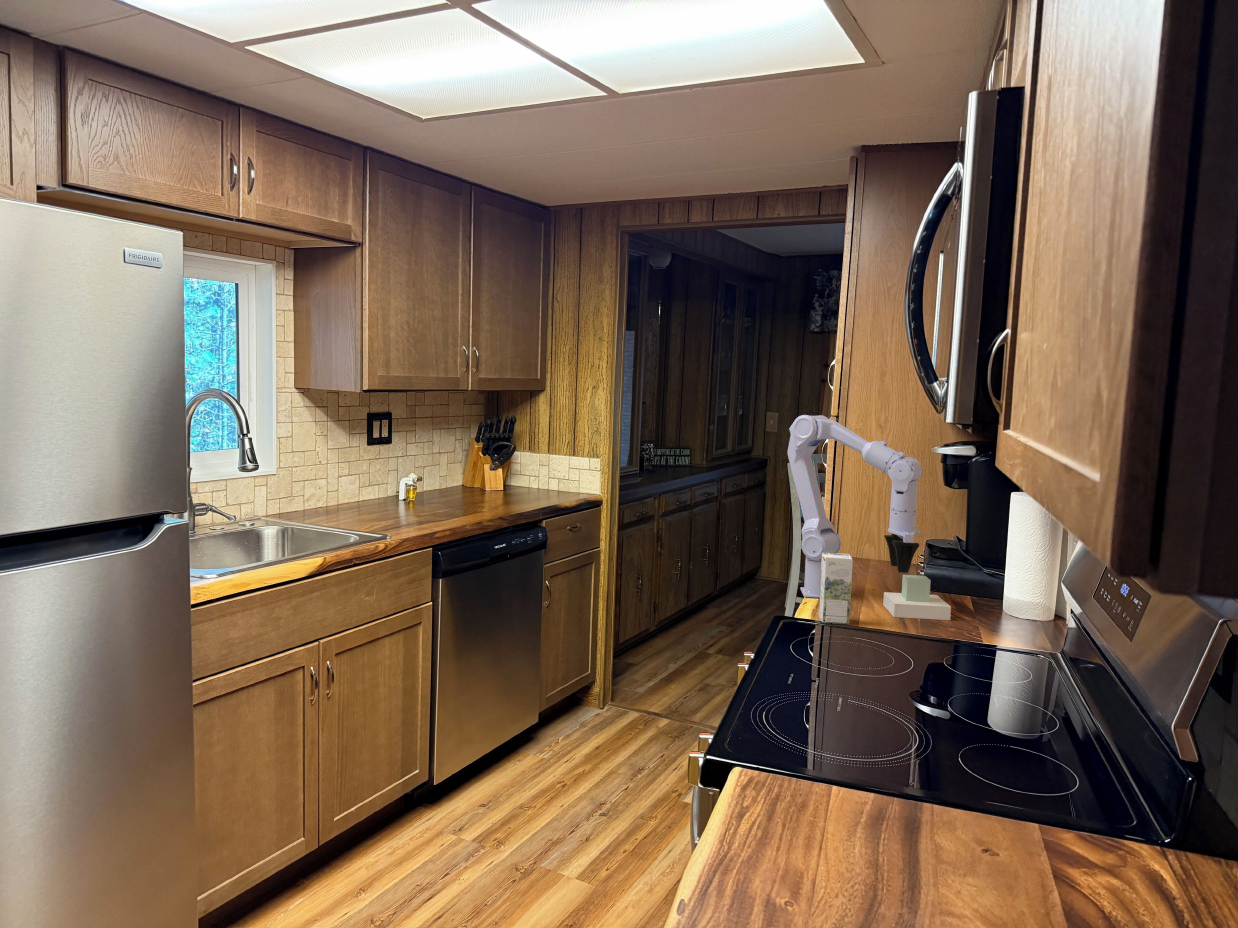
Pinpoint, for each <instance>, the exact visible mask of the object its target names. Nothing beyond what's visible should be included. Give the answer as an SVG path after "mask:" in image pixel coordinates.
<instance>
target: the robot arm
mask: <svg viewBox="0 0 1238 928" xmlns="http://www.w3.org/2000/svg"><path fill="white" fill-rule="evenodd" d="M788 429H789V433H790V437H789V441H788V448H787V457H788V462H789V466H790V469H791V474H792V477H793V482H794V485H795V489H796V493H797V498H798V502H799V505H800V508H801V512H802V516H803V521H804V523H803V526H802V528H801V536H802V541H801V550H802V553H803V554H804V555H805V560H804V561H805V562H804V564H805V565H804V581H803V582H804V583H803V584H804V585H803V586H801V587H800V588H799V589H800V591H801V594H802V595H803V597H804V598H819V599H820V583H821V563H822V553H838V552H839V551H840V549H841V546H842V541H841V537H840V536H839V534H838V533H837V531H836V530H835V527H834V524H833V523H832V522H831V520H829V519H828V517H827V515H826V511H825V510H826V509H825V507H824V503H823V497H822V495H821V490H820V486H819V483H818V479H817V475H816V470H815V467H814V462H813V460H812V455H813V453H814V452H815V451H816V449H817V447H818V446H820V445H821V444H822V443H823V442H824V441H826V440H834V441H836V442H838V443H839V444H841V445H844V446H846V447H847V448H850V449H852V450H853V451H855V452H857V453H859V454H861V455H862V460H863V461H864V462H865V463H866V464H868V465H869V466H871V467H873V468H875V469H876V470H878V471H880V472H882V473H883V474H884V475H887V476H888V477H889V478H890V480H891V491H890V504H889V505H890V509H889V521H888V522H889V523H888V524H889V525H888V528H887V532H888V533H889V535H888V534H885V535H883V537H884V539H885V541H886V544H887V548H888V554H889V555H888V556H889V561H890V566H891V567H897V572H898V573H901V574H902V573H904V574H905V573H906V574H907V573H909V572H910V568H911V565H912V563H913V562H912V561H913V558H914V556H915V553H916V552H917V550H918V549H919V547H920V543H918V542H914V537H915V535H916V534H917V535H921V532H922V531H921V530H920V529H916V525H917V524H916V523H917V522H916V521H917V508H918V507H917V505H918V493H919V492H918V491H919V490H918V489H919V488H918V487H919V486H918V485H919V480H920V479H921V478H922V476H923V466H922V464H921V462H919V460H917V459H916V457H913V456H908V457H905V455H906V454H905V452H902V451H897V450H895V449H893V448H891V447H890V446H888V442H886V441H884V440H880V441H879V440H873V441H871V442H870V441H868V440H867V439H865V438H863V437H862V436H860V435H859V434H857V433H855V432H854V431H852V430H850V429H849V428H847V427H846V426H844V425H843V424H840V423H839V422H837V421H836V420H834V419H830V418H829V417H827V416H825V415H822V414H821V415H820V414H819V415H807V414H802V415H799V416H798V417H796V418H795V419H794V421H793V423H792V424H791V426H789V428H788ZM890 534H891V535H890ZM808 591H809V593H808Z"/></svg>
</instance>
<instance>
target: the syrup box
mask: <svg viewBox="0 0 1238 928" xmlns="http://www.w3.org/2000/svg"><path fill="white" fill-rule="evenodd" d="M853 565H854V559H853V557H852V556H851V555H850V554H849V553H838V552H837V553H822V563H821V583H820V598H819V605H818V617H819V620H820V621H821V622H822V624H831V623H832V624H833V625H834V624H835V625H850V616H851V615H850V614H851V600H852V599H851V598H852V597H851V595H852V580H853V579H852V578H853ZM832 624H831V625H832Z"/></svg>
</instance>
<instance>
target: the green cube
mask: <svg viewBox="0 0 1238 928" xmlns="http://www.w3.org/2000/svg"><path fill="white" fill-rule="evenodd" d="M901 582H902V583H901V593H902V597H903V598H904V599H905V600H906V601H915V602H929V600H930V595H931V579H930V578H929V577H927V576H926V575H914V574H912V575H911V574H902V581H901Z"/></svg>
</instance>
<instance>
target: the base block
mask: <svg viewBox="0 0 1238 928" xmlns="http://www.w3.org/2000/svg"><path fill="white" fill-rule="evenodd" d="M882 602H883V603H882V605H883V606H884V607H885V609H886V610H887V611H888V612H889V613H890V614H891V616H892V617H893V618H902V619H903V618H905V619H920V620H921V619H922V620H937V621H939V620H941V621H951V615H952V614H951V613H952V612H951V611H952V606H951V605H949V604H948V603H947V602H946V601H945V600H944V599H942V598H941V597H940V596H939V595H937V594H930V600H929V602H915V601H906V600H905V599H904V598H903V597H902V592H886V591H884V592H883V601H882Z"/></svg>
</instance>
